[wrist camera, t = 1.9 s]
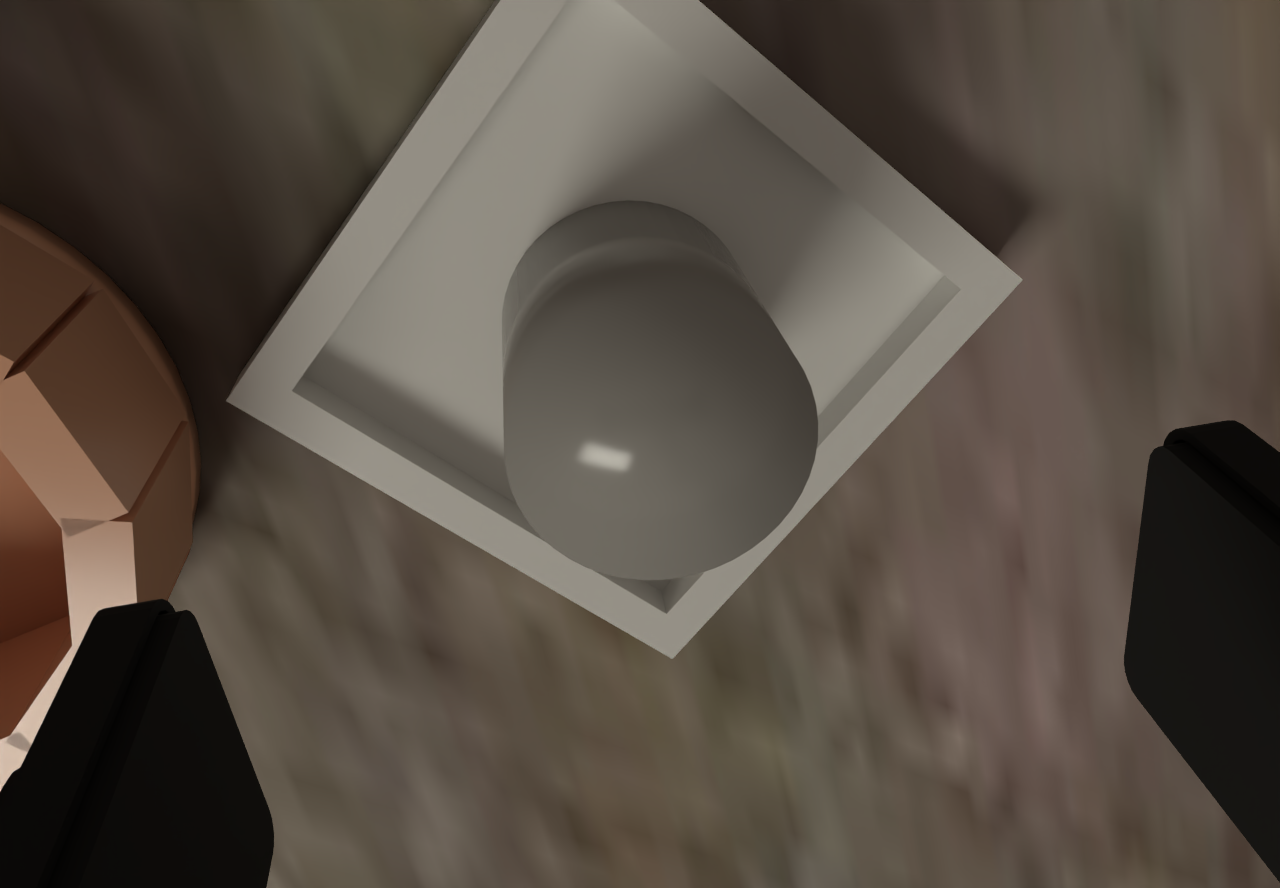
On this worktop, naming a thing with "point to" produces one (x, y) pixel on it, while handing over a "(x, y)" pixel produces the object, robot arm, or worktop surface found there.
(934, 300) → the parts tray
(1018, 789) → the worktop surface
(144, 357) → the bowl
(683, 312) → the grey cylinder
